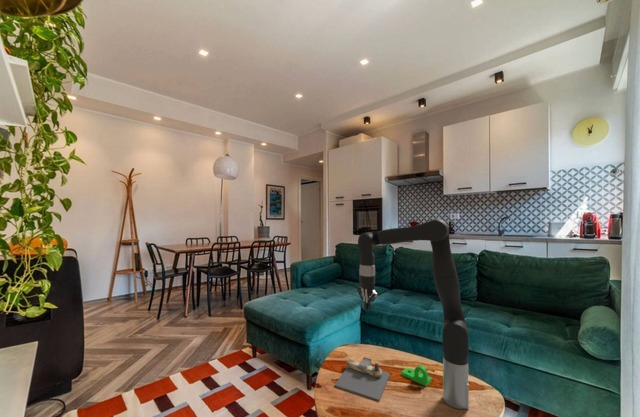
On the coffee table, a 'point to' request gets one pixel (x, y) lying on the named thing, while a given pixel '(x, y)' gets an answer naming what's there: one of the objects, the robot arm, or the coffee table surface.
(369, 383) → the base plate
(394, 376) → the coffee table surface
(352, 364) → the latch bar
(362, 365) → the keeper
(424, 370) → the mechanical part
